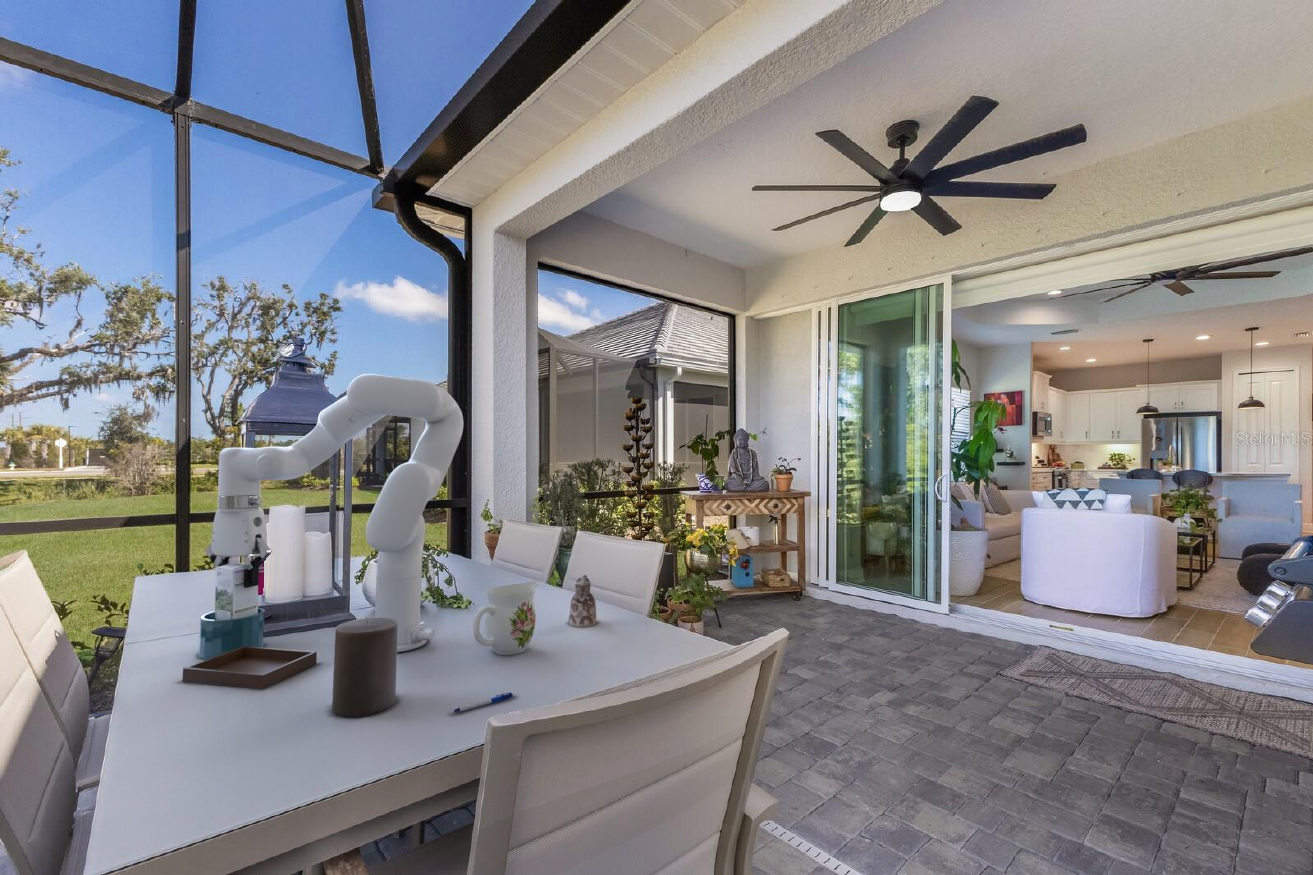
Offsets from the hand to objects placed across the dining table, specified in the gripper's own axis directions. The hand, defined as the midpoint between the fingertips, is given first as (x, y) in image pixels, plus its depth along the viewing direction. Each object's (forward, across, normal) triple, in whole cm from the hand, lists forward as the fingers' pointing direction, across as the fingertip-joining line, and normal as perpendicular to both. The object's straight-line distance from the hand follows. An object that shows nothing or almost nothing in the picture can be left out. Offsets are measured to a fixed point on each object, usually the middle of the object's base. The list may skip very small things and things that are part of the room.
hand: (237, 585), depth 125 cm
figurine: (+16, -67, -37) cm, 78 cm away
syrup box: (+10, 0, 0) cm, 10 cm away
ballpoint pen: (+15, -65, +15) cm, 69 cm away
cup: (+14, +1, 0) cm, 14 cm away
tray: (+14, -14, +10) cm, 23 cm away
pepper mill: (+14, +17, -23) cm, 32 cm away
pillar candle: (+15, -45, +19) cm, 51 cm away
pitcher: (+15, -57, -12) cm, 60 cm away
